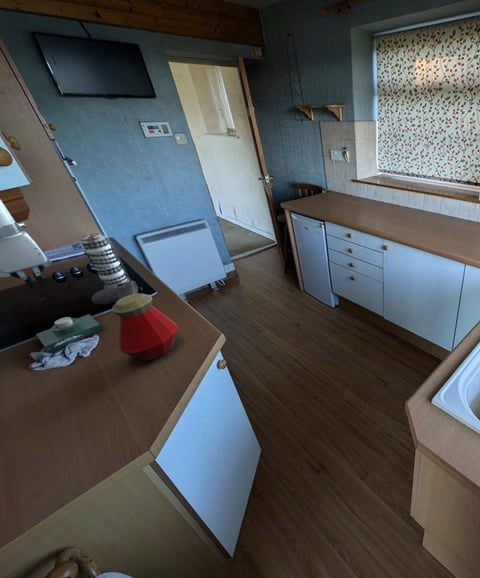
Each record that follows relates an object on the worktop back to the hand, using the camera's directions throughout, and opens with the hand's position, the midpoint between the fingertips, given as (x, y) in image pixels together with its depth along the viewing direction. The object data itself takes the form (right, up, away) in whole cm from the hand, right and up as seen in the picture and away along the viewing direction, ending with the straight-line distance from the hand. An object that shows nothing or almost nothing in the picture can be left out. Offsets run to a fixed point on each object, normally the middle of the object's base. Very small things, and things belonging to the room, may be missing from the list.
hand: (39, 287), depth 92 cm
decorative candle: (-7, -1, +36) cm, 37 cm away
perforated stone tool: (-1, -6, +29) cm, 29 cm away
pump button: (0, -13, +8) cm, 15 cm away
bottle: (+35, -21, +3) cm, 41 cm away
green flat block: (0, -17, +10) cm, 19 cm away
